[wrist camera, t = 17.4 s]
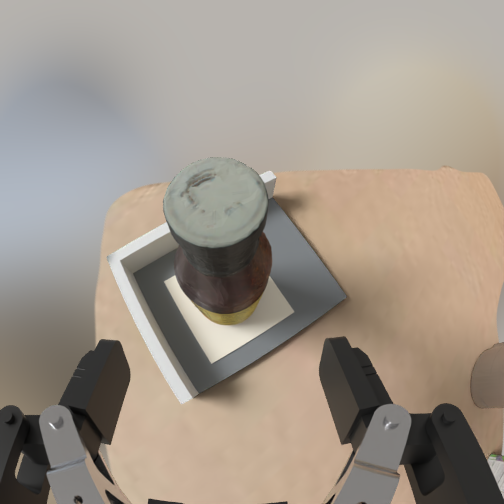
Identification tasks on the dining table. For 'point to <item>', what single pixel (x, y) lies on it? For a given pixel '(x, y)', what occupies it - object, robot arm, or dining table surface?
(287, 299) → the grey tray
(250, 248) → the sauce bottle
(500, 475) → the syrup box
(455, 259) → the dining table surface
